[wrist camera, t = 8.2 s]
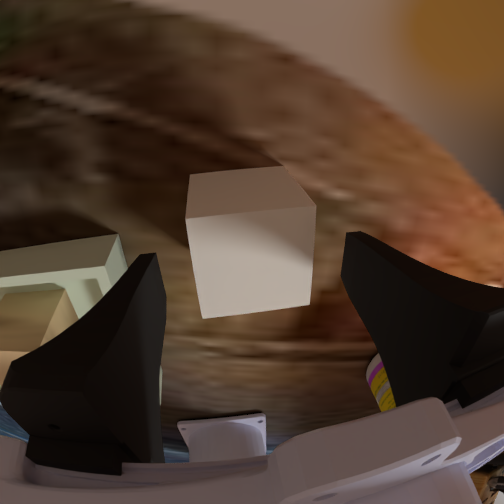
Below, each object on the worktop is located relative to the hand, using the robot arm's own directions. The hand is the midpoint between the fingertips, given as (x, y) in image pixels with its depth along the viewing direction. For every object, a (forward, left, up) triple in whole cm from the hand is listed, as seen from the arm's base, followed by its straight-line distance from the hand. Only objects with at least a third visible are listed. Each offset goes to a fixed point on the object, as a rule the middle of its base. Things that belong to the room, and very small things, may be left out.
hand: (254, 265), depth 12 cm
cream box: (0, 0, -5) cm, 5 cm away
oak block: (-6, +13, -4) cm, 15 cm away
